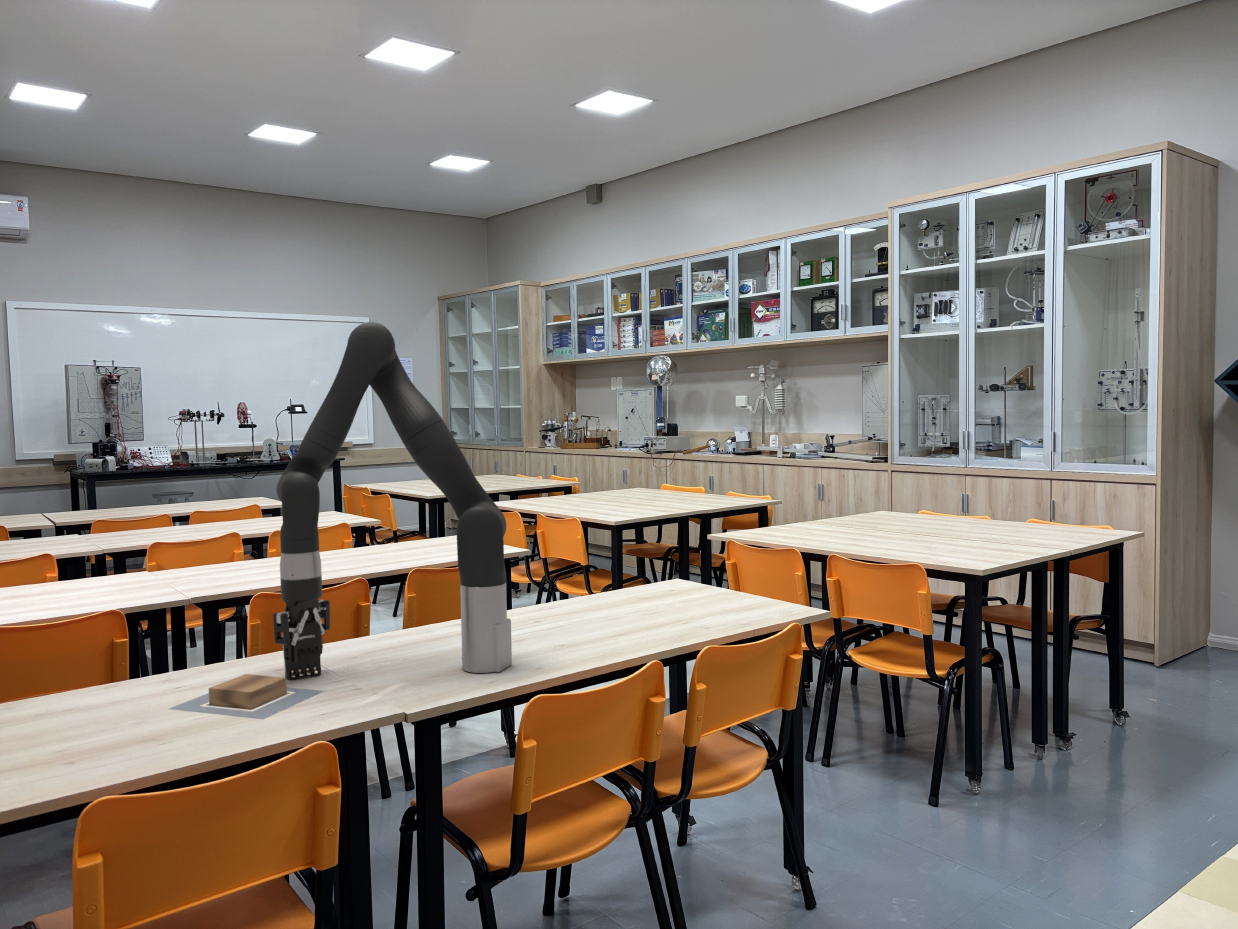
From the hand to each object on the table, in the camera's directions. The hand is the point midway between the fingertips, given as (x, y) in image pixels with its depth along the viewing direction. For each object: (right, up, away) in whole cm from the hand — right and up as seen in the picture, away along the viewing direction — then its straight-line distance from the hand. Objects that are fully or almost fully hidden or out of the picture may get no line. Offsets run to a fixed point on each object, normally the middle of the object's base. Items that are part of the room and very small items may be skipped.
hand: (304, 659), depth 169 cm
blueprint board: (-5, -5, -14) cm, 16 cm away
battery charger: (0, -4, 0) cm, 4 cm away
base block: (-5, -4, -14) cm, 15 cm away
